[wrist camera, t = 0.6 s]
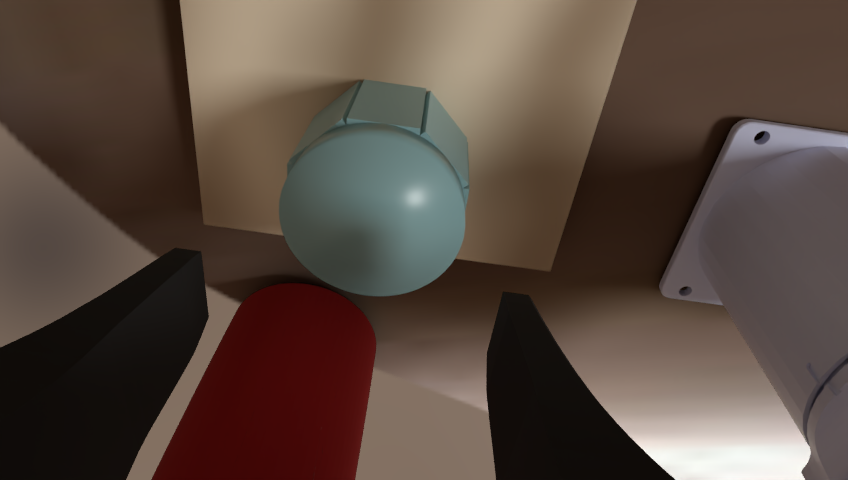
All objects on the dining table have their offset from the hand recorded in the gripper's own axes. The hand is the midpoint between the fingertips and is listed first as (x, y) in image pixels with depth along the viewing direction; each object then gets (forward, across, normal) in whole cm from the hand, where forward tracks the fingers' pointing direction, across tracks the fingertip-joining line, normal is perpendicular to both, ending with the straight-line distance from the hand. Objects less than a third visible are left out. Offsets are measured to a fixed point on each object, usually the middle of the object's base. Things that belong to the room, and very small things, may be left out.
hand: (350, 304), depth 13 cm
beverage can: (+10, +3, +10) cm, 14 cm away
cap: (+8, 0, 0) cm, 8 cm away
